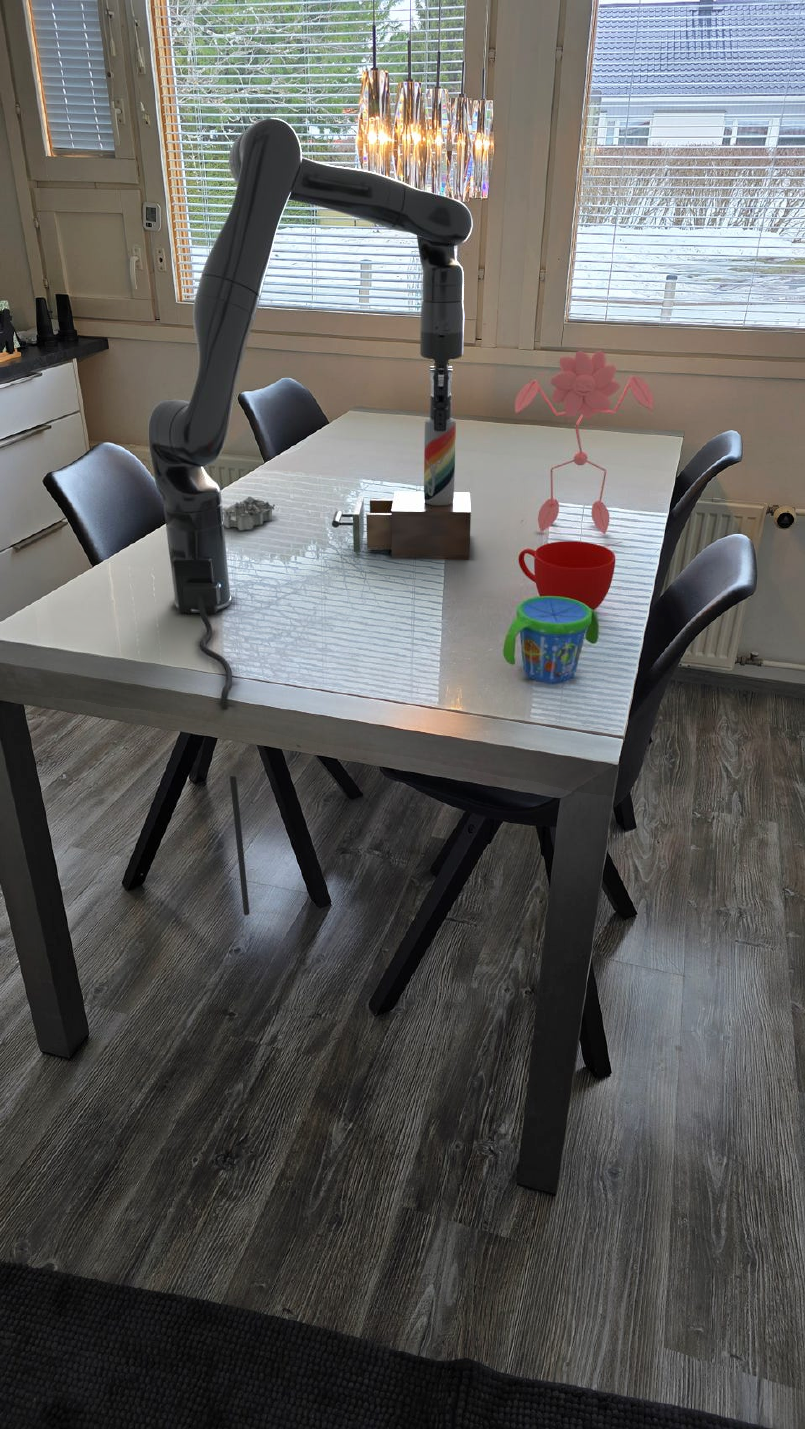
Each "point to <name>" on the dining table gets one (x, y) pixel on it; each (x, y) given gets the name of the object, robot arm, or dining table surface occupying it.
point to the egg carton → (247, 514)
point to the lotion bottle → (439, 459)
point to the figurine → (583, 413)
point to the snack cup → (551, 636)
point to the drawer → (369, 523)
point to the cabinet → (430, 527)
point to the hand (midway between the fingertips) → (440, 426)
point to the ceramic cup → (571, 571)
